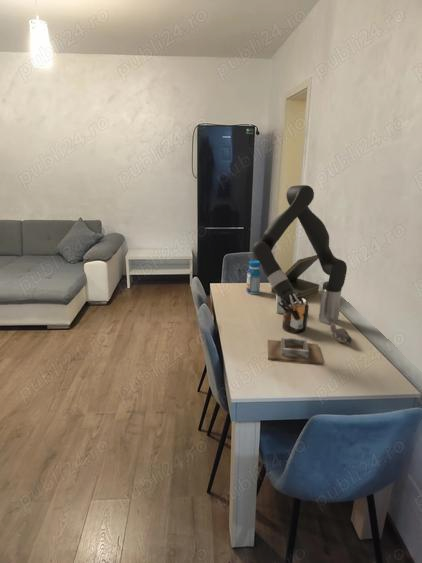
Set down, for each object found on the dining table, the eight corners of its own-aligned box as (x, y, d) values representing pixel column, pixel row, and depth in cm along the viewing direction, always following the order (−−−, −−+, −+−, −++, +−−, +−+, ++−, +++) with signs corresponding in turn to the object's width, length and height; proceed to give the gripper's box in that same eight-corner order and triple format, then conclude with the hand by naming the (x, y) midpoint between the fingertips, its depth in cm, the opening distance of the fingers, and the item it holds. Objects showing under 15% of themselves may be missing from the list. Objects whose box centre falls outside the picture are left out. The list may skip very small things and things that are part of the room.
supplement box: (288, 308, 205) (290, 287, 201) (289, 314, 198) (291, 292, 194) (274, 308, 205) (276, 286, 201) (275, 313, 198) (277, 291, 194)
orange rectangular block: (288, 325, 154) (290, 303, 151) (293, 323, 157) (296, 301, 154) (299, 329, 151) (301, 307, 148) (304, 327, 153) (306, 305, 150)
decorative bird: (342, 349, 162) (343, 339, 160) (319, 325, 185) (320, 316, 183) (355, 349, 162) (357, 338, 161) (331, 325, 186) (332, 315, 184)
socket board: (317, 346, 164) (318, 338, 163) (322, 364, 149) (323, 356, 148) (267, 341, 167) (268, 333, 165) (268, 359, 152) (268, 350, 150)
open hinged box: (293, 286, 244) (296, 249, 236) (318, 294, 230) (323, 255, 222) (270, 293, 229) (274, 254, 221) (296, 302, 215) (301, 261, 207)
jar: (306, 334, 174) (310, 305, 170) (281, 332, 177) (284, 303, 172) (305, 324, 185) (309, 296, 181) (282, 322, 188) (285, 294, 183)
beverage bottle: (255, 295, 223) (257, 264, 217) (243, 292, 228) (245, 261, 222) (262, 292, 230) (264, 261, 223) (250, 289, 234) (252, 258, 228)
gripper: (275, 282, 148) (298, 319, 144) (295, 275, 158) (317, 309, 153) (264, 290, 153) (285, 326, 149) (284, 283, 163) (304, 317, 158)
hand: (301, 318), depth 151 cm, fingers closed on orange rectangular block, 3 cm apart
